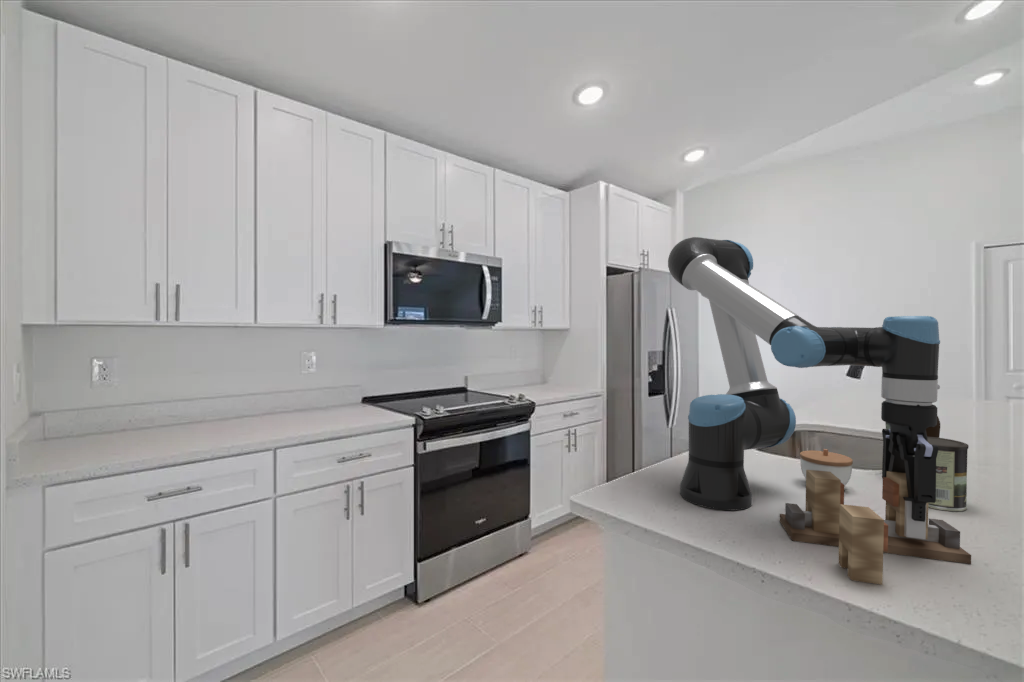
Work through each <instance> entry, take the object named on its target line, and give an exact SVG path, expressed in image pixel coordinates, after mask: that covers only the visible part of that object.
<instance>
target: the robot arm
mask: <svg viewBox="0 0 1024 682" xmlns="http://www.w3.org/2000/svg"><path fill="white" fill-rule="evenodd" d="M667 258H668V259H667V268H668V270H669V273H670V275H671V276H672V278H673V279H674V280H675V281H676V282H677V283H678V284H680V285H681V286H683V288H685V289H686V290H689V291H697V292H698V293H699V294H700V295H701V296H702V297H704V298H706V299H708V301H709V305H710V309H711V314H712V319H713V322H714V326H715V331H716V334H717V335H716V336H717V340H718V343H719V348H720V351H721V356H722V361H723V364H724V369H725V374H726V377H727V382H728V386H729V389H728V390H727V392H726V393H724V394H722V393H720V394H719V393H717V394H706V395H701V396H698V397H695V398H694V399H693V400H692V401H691V402H690V404H689V412H688V416H687V419H688V460H687V461H688V462H687V466H686V468H685V471H684V472H683V476H682V478H681V481H680V485H679V495H680V496H681V497H682V498H683V499H684V500H685V501H688V502H690V503H691V504H695V505H697V506H700V507H705V508H709V509H714V510H721V511H724V510H725V511H739V510H740V511H741V510H745V509H748V508H750V507H751V506H752V504H753V492H752V490H751V486H750V483H749V480H748V476H747V473H746V471H745V467H744V466H745V465H744V463H745V457H744V456H745V451H746V450H748V451H749V450H754V449H761V448H762V449H763V448H765V449H766V448H773V447H776V446H778V445H779V446H780V445H782V444H784V443H786V442H787V441H788V440H790V439H791V437H792V435H793V434H794V433H795V430H796V425H797V420H796V419H797V418H796V414H795V411H794V409H793V408H792V406H791V405H790V403H787V402H786V401H787V400H785V399H783V398H781V397H780V394H779V391H778V388H777V387H776V385H773V384H771V383H770V382H769V381H768V378H767V373H766V369H765V366H764V362H763V358H762V354H761V351H760V347H759V342H758V339H757V337H759V338H760V339H761V340H763V341H764V342H765V343H766V344H768V345H770V350H771V353H772V355H773V356H774V359H775V360H776V361H777V362H778V363H780V364H781V365H783V366H786V367H793V368H798V369H804V368H805V369H807V368H813V367H814V368H816V367H838V366H839V367H840V366H855V367H856V366H857V367H862V366H863V367H876V368H878V367H879V368H880V367H881V372H882V373H881V388H880V389H881V390H880V391H881V392H880V393H881V394H880V397H881V398H882V399H884V400H883V401H882V402H881V408H880V409H881V411H880V413H881V414H880V416H881V421H883V422H884V423H885V422H887V423H890V424H891V428H890V429H886V428H882V429H881V434H882V464H881V479H882V480H883V477H886V472H887V471H890V472H901V473H906V480H907V490H908V497H903V499H904V500H905V521H904V535H905V536H906V537H910V538H919V539H926V503H935V502H936V458H937V454H938V446H937V445H932V444H929V443H928V441H927V440H928V438H927V434H926V428H928V427H934V426H936V425H937V416H938V407H937V406H936V405H935V404H934V403H936V402H938V391H939V390H940V388H941V386H940V384H938V382H939V357H940V344H941V340H940V332H939V331H940V330H939V321H938V319H936V318H935V317H934V316H929V315H900V316H896V315H895V316H886V317H884V319H883V323H882V325H881V326H879V327H878V326H877V327H856V326H855V327H848V326H847V327H843V326H830V327H829V326H828V327H827V326H815V325H813V323H810V322H809V321H807V320H806V319H804V318H803V317H801V316H799V314H797V313H795V312H793V311H792V310H790V309H789V308H787V307H785V306H784V305H782V304H781V303H779V302H777V301H776V300H775V299H773V298H771V297H770V296H769V295H767V294H765V293H763V292H762V291H761V290H759V289H757V288H756V287H754V286H753V285H751V284H750V281H749V278H750V276H751V275H752V270H754V259H753V255H752V253H751V251H750V250H749V248H748V247H747V246H746V245H744V244H742V243H740V242H737V241H733V240H729V239H716V238H707V237H699V236H692V237H688V238H685V239H682V240H680V241H679V242H677V243H676V244H675V245H674V246H673V248H672V249H671V250H670V252H669V256H668V257H667Z"/></svg>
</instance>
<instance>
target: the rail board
mask: <svg viewBox="0 0 1024 682" xmlns="http://www.w3.org/2000/svg"><path fill="white" fill-rule="evenodd" d="M784 507H785V509H784V510H785V511H784V513H779V522H780V524H781V525H782V527H783V529H784V530H785V532H786V534H788V536H789V538H790V539H791V541H793V542H799V543H808V544H815V545H823V546H830V547H832V546H833V547H838V548H839V534H832V533H824V532H816V531H813V529H812V512H810V511H805V510H802V508H801V507H800V506H799V505H798V504H797V503H789V502H785V505H784ZM883 520H884V522H885V523H886V524H887V525H888V551H883V554H884V553H885V554H891V555H892V554H893V555H901V556H907V557H908V556H909V557H915V558H916V557H917V558H922V559H929V560H930V559H931V560H937V561H939V560H940V561H945V562H953V563H961V564H966V565H967V564H968V565H971V564H972V554H971V553H969V552H968V551H966V550H965V549H964V548H962V547H961V531H960V530H958V529H957V528H956V527H954V526H952V525H951V524H949V523H948V522H947V521H945V520H944V519H936V518H928V539H919V538H910V537H902V536H899V535H897V534H896V533H895V530H896V521H891V520H885V519H883Z"/></svg>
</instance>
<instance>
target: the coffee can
mask: <svg viewBox="0 0 1024 682" xmlns="http://www.w3.org/2000/svg"><path fill="white" fill-rule="evenodd" d="M927 438H928V440H927V441H928V443H929V444H932V445H937V446H938V454H937V458H936V502H935V503H928V509H935V510H939V511H946V512H947V511H948V512H964V511H966V510H967V509H968V508H967V496H968V495H967V492H968V491H967V490H968V486H967V485H968V484H967V483H968V479H967V478H968V449H969V444H968V443H965V442H963V441H960V440H955V439H950V438H943V437H939V438H937V437H927Z"/></svg>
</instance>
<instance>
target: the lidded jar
mask: <svg viewBox="0 0 1024 682" xmlns="http://www.w3.org/2000/svg"><path fill="white" fill-rule="evenodd" d="M799 458H800V470H801V473H802V476H803V477H804V479H805V480H806V470H817V471H828V472H831V473H832V474H834V475H835V476H836V477H837V478H839V479H840V480H841V483H843V484H844V487H845V486H847V484H849V482H850V479H851V478H852V471H853V462H854V460H853V459H852V458H851V457H849V456H848V455H844V454H840V453H836V452H832V451H829V449H827V448H823V449H822V450H814V449H813V450H809V449H808V450H803V451H801V452H800V453H799Z"/></svg>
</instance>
